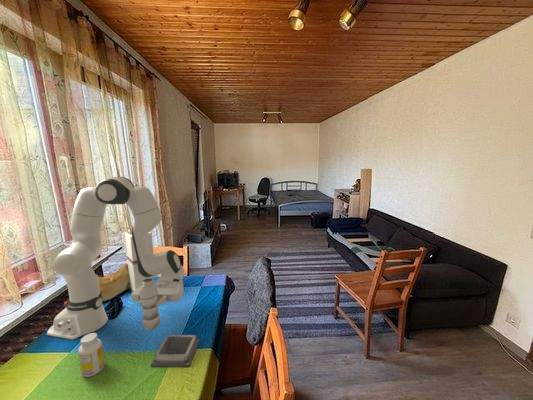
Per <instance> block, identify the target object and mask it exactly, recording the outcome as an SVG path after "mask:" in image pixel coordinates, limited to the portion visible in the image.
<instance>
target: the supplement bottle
mask: <svg viewBox="0 0 533 400" xmlns="http://www.w3.org/2000/svg"><path fill="white" fill-rule="evenodd" d="M77 351H78V358H79V364H80V372H81V374H82V376H83V377H85V378H87V377H88V378H89V377H93V376H95V375H97V374H98V373H100V372H101V371H102V370H103V369H104V367H105V357H104V352H103V344H102V340H101V339H99V338H98V334H97V332H91V333H88V334H85V335H83V337H82V338H81V339H80V346H79V348H78V350H77Z"/></svg>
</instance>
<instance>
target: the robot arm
mask: <svg viewBox="0 0 533 400" xmlns="http://www.w3.org/2000/svg"><path fill="white" fill-rule="evenodd" d="M125 204H126V205H127V206H128V207H129V209H130V211H131V213H132V216H133V221H134V222H133V226H132V227H131V235H132V238H133V243H134V248H135V252H136V257H137V267H138V272H139V273H140V274H141V275H142V276H144V277H146V278H149V277H151V276H153V277H154V276H156V275H160V276H159V278H157V280H156V281H154V285H153V286H155V287H156V288H157V290H158V299H157V302H156V303H155V304H156V305H155V306H158V307H160V306H161V305H163V304H165V303H166V302H175V303H176V302H179V301H181V300H182V297H183V294H184V291H185V290H184V281H183V278H184V276H185V268H184V266H183V265H182V261H181V258H180V256H179V254H178V253H176V252H175V251H174V250H171V249H170V250H169V249H168V250H165V251H161V252H158V253H153V255H150V254H149V253H148V248H147V243H146V235H147V234H148V233H149V232H151V231H153V230H154V229H155V228H157V227H158V225H159V224H160V223H161V220H162V213H161V212H162V211H161V209H160V207H159V205H158V202H157V200H156V198H155V196H154V194H153V193H152V192H151V190H150V188H148V187H146V186H136V187H135V186H134V183H133V181H132V180H130V179H129V178H126V177H125V176H112V177H109V178H105V179H103V180H101V181H99V182H98V183H97V184H96V186H95V187H94V186H93V187H92V186H91V187H86V188H85V187H84V188H82V189H81V190H80V191H79V193H78V194H77V197H76V200H75V203H74V205H73V209H72V214H71V219H70V224H69V231H70V232H71V236H72V242H71V244H70V245H69V246H68V247H67V248H65V249H63V250H61V251H60V252H59V253H58V254H57V256H56V257H55V258H54V259H53V261H52V269H53V270H54V272H55V273H56V274H58V275H60V276H62V277H63V279H64V280H65V282H66V285H67V291H68V297H69V298H68V299H67V300H66V301H64V302H63V303H64V304H63V305H64V306H65V305H66V307H65V308H64V309H62V310H61V311H60V312H59V313H58V314H57V315H56V316H55V317H54V319H53V325H51V326H50V327H49V329H48V330H47V332H46V336H51V337H56V338H61V339H62V338H63V339H67V340H76V339H78V338H79V337H82V336H85V335H87V334H90V333H94V332H95V331H97V330H99V329H100V328H103V326H105V325H106V323H107V322H108V320H109V317H108V315H107V314H106V311H105V308H104V304H103V302H102V292H101V291H100V285H99V277H100V276H98V274H97V273H95V272H94V269H93V265H92V264H93V262H94V261H95V260H96V259H97V258H99V256H100V255H101V252H102V250H103V244H102V239H101V238H102V236H101V235H102V229H103V228H102V227H103V222H104V218H105V213H106V208H107V205H125ZM142 288H143V286H141V287H139V288H138V289H136V290H135V291H134V292H131V293H130V295H131V301H132V302H133V303H135V302H138V303H137V304H138V305H137V306H138V307H142V303H141V299H140V291H141V290H142Z"/></svg>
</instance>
